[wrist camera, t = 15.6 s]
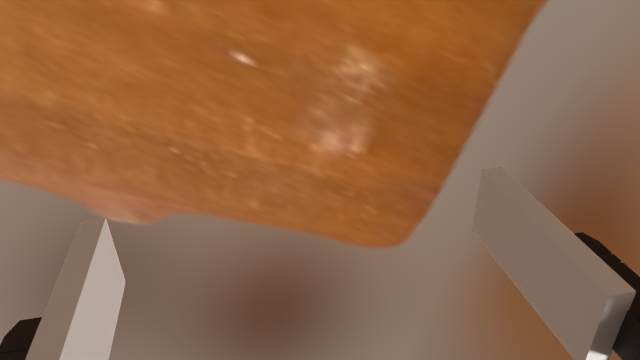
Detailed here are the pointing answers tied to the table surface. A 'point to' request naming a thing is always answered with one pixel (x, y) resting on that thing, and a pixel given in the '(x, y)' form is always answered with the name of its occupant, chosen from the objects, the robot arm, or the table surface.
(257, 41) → the table surface
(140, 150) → the table surface
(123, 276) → the robot arm
